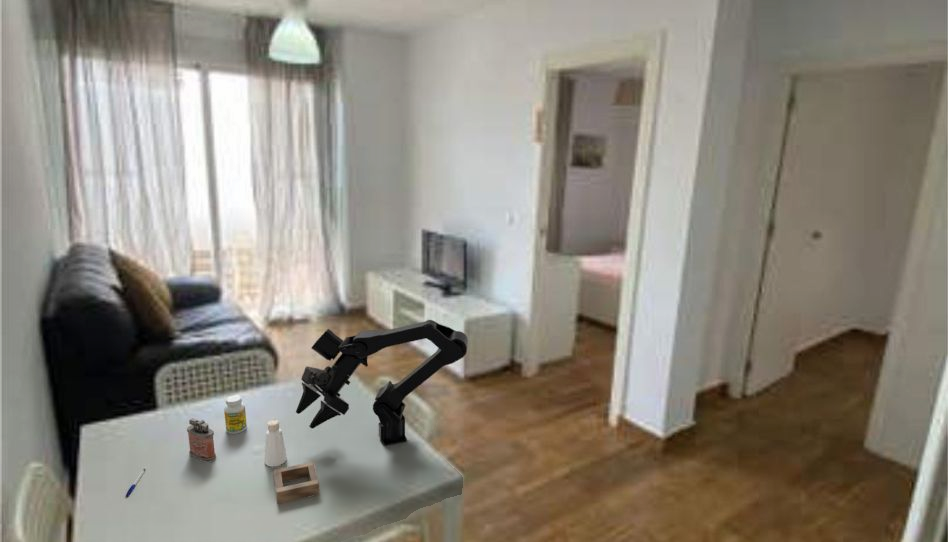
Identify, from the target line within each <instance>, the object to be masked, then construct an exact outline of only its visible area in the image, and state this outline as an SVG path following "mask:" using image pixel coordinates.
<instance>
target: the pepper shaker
mask: <svg viewBox="0 0 948 542" xmlns="http://www.w3.org/2000/svg"><path fill="white" fill-rule="evenodd" d="M264 441H265V446H264V460H263V461H264V464H265V465H266V466H271V467H273V466H277V467H279V466H282V465H284V464H285V462H286V461H287V459H288V458H287V456H288V455H287V453H286V447H285V440H284V436H283V430H282V429H281V428H280V421H279V420H277V419H271V420H270V421H268V422H267V431H266V432H265V440H264ZM283 463H284V464H283ZM281 464H282V465H281Z"/></svg>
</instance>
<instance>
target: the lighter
mask: <svg viewBox="0 0 948 542" xmlns="http://www.w3.org/2000/svg"><path fill="white" fill-rule="evenodd" d="M188 421H189V422H188V423H189V426H187V427H186V431H187V434H188V435H187V436H188V444H189V451H188V452H189V456H191V457H192V458H193V459H195V460H198V461H201V462H204V463H205V462H206V463H210V462H213V461H215V460H216V458H217V456H216V452H215V444H214V443H215V442H214V435H215V434H214V433H215V432H214V430H213V429H211V428H210V427H209V423H206V422H205V420H204V419H201V420H199V419H196V418H194V417H193V418H190V419H188Z"/></svg>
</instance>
